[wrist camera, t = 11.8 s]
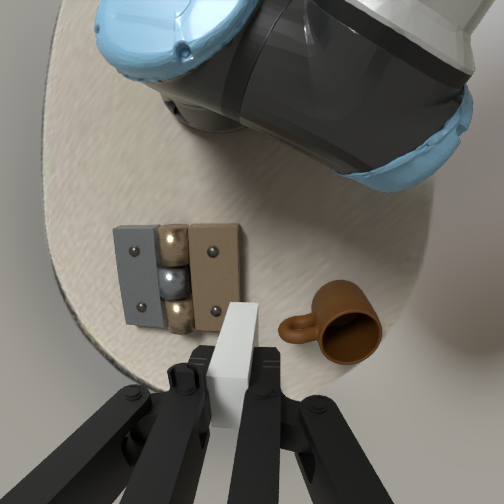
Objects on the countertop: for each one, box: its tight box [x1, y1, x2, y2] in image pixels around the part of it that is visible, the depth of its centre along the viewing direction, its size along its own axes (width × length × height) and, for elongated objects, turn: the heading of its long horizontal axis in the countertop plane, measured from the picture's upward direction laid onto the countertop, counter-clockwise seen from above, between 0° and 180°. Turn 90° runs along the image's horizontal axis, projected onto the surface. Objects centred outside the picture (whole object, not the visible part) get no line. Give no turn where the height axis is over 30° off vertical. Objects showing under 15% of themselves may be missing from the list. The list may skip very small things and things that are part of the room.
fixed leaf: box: [158, 224, 241, 335], centre depth 41 cm, size 14×10×4 cm
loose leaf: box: [113, 225, 190, 328], centre depth 42 cm, size 14×10×4 cm
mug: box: [278, 280, 382, 365], centre depth 38 cm, size 12×8×9 cm, turn 93°
